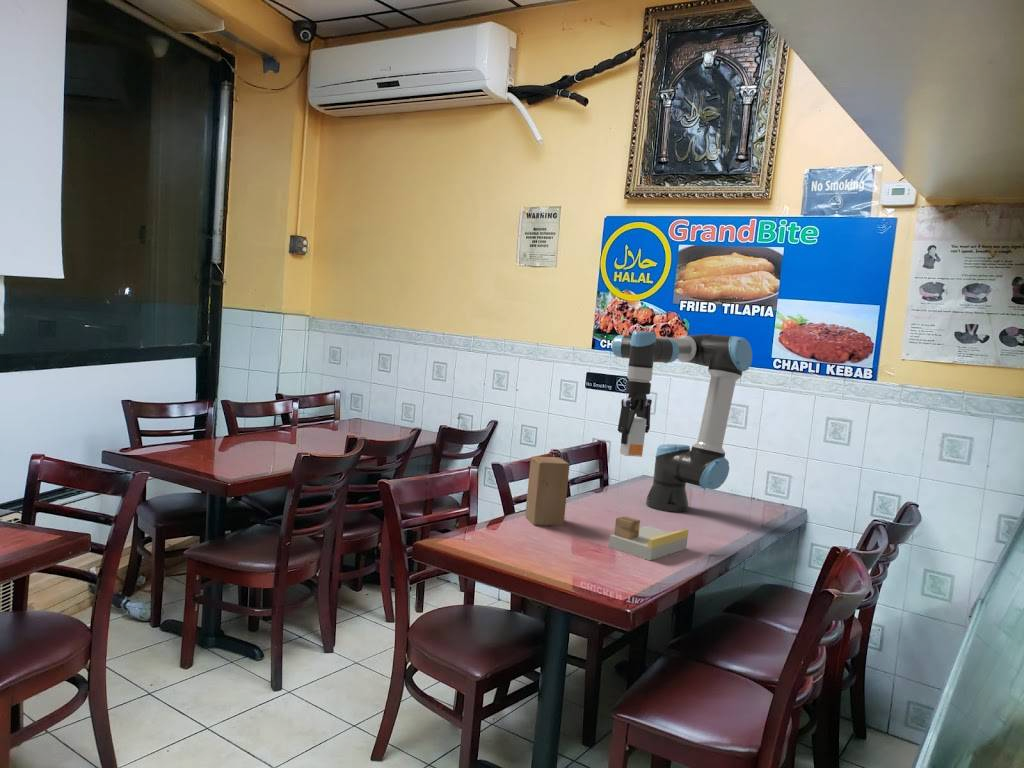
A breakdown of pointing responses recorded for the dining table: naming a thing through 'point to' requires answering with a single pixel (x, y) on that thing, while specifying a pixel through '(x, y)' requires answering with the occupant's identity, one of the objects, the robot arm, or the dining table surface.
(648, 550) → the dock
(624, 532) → the tan wooden cube
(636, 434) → the skincare box
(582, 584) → the dining table surface
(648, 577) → the dining table surface
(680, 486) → the robot arm
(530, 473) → the wooden block
